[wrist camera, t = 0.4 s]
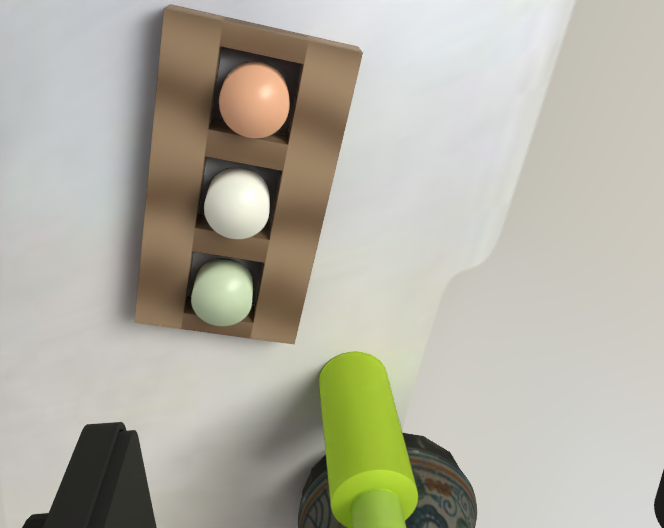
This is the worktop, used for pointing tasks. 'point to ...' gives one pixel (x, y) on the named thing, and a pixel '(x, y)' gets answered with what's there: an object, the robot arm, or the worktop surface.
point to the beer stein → (431, 482)
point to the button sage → (222, 292)
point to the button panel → (223, 143)
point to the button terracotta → (254, 99)
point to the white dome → (237, 203)
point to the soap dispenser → (364, 445)
